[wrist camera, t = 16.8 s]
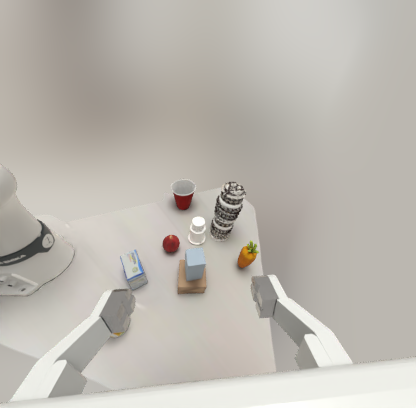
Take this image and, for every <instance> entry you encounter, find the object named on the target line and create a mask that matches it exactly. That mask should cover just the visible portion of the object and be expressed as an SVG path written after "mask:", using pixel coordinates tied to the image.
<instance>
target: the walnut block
mask: <svg viewBox="0 0 416 408" xmlns="http://www.w3.org/2000/svg"><path fill="white" fill-rule="evenodd" d="M205 289H206V272H205V268H204V272H203V276H202V279H196V280H191V281H186V273H185V260H180V264H179V279H178V294H185V293H204V291H205Z"/></svg>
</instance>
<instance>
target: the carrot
mask: <svg viewBox="0 0 416 408" xmlns="http://www.w3.org/2000/svg"><path fill="white" fill-rule="evenodd" d="M256 247H257V244H254V248H253V242H252V241H250V246H249V244H247V246H245V247H243V248H242V250H241V252H240V255H239V258H238V265H239V267H241V268H243V267H246V266H248V265H250V264H251V263H252V262H253V261H254V260H255V258H256V254H257V253H259V252H258V251H257V250H255V249H256Z"/></svg>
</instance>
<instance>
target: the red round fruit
mask: <svg viewBox="0 0 416 408" xmlns="http://www.w3.org/2000/svg"><path fill="white" fill-rule="evenodd" d="M179 244H180V242H179V239H178V238H177V236H175V235H169V236H167V237H166V238H165V239H164V240H163V247H164V249H165V250H166V251H167V252H174V251H176V250H177V249H178V247H179Z"/></svg>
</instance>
